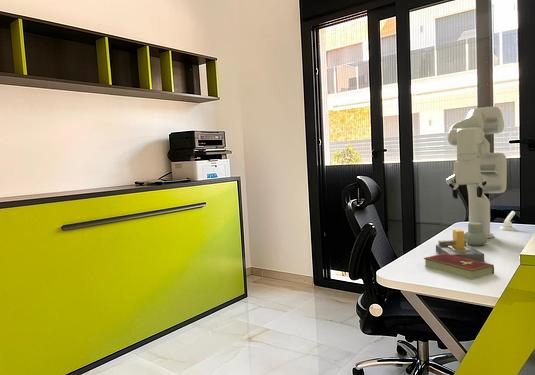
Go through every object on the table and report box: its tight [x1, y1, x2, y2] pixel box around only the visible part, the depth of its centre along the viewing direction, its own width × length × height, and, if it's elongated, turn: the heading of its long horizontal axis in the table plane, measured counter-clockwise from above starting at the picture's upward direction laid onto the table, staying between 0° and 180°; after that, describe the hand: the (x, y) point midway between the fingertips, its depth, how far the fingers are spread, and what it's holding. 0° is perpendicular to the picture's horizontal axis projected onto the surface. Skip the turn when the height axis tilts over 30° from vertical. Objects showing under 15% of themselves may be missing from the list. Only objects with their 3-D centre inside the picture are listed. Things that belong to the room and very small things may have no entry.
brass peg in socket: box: [452, 228, 465, 250], centre depth 172 cm, size 4×3×11 cm, turn 174°
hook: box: [499, 210, 517, 232], centre depth 220 cm, size 8×12×7 cm
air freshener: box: [464, 222, 488, 246], centre depth 190 cm, size 11×8×10 cm
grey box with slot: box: [435, 239, 485, 262], centre depth 172 cm, size 18×13×5 cm
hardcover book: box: [423, 253, 495, 280], centre depth 153 cm, size 12×21×4 cm, turn 27°
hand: (467, 197), depth 174 cm, fingers open, 9 cm apart
